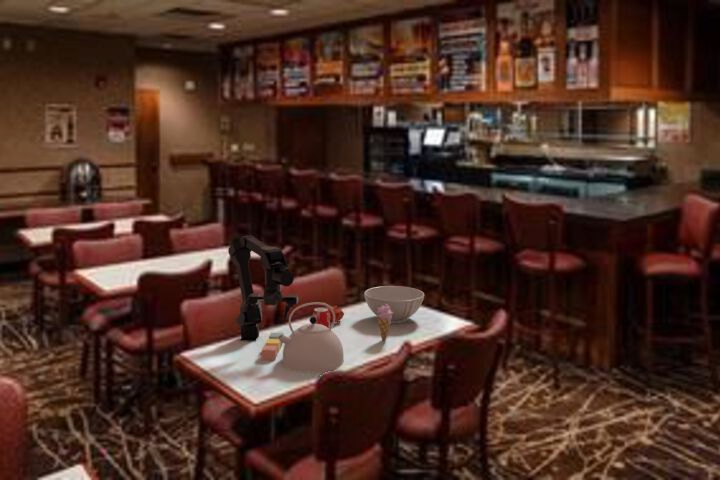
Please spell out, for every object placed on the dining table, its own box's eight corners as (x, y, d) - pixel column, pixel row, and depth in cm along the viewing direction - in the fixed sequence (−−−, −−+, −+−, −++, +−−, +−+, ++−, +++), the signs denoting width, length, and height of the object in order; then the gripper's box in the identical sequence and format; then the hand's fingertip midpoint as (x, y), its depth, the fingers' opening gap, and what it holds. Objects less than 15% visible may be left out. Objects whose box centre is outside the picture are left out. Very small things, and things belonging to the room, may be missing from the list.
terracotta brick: (261, 360, 252) (261, 350, 251) (264, 355, 257) (264, 345, 256) (275, 360, 252) (275, 350, 251) (277, 356, 257) (277, 345, 256)
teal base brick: (269, 346, 268) (269, 336, 267) (271, 342, 272) (271, 332, 272) (281, 346, 267) (281, 336, 267) (283, 342, 272) (283, 332, 272)
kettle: (287, 377, 236) (286, 314, 232) (268, 356, 256) (268, 298, 252) (353, 367, 245) (353, 307, 241) (330, 348, 266) (330, 292, 262)
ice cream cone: (395, 339, 277) (395, 303, 274) (389, 343, 271) (389, 307, 268) (380, 337, 279) (380, 301, 277) (374, 341, 274) (374, 305, 271)
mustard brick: (265, 353, 260) (265, 343, 259) (267, 348, 265) (267, 338, 264) (278, 353, 259) (278, 343, 259) (280, 349, 264) (280, 339, 264)
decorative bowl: (426, 328, 291) (426, 301, 289) (363, 328, 292) (363, 300, 289) (421, 311, 318) (421, 286, 316) (364, 310, 318) (364, 285, 316)
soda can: (327, 340, 274) (327, 312, 272) (310, 339, 275) (310, 311, 273) (331, 335, 281) (331, 307, 279) (315, 334, 282) (315, 306, 280)
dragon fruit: (318, 328, 296) (341, 327, 302) (327, 320, 290) (350, 320, 296) (314, 309, 299) (337, 310, 306) (323, 302, 293) (347, 302, 300)
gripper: (244, 286, 250) (244, 326, 252) (294, 286, 249) (294, 327, 252) (249, 279, 261) (250, 318, 263) (298, 279, 260) (298, 319, 263)
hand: (273, 320), depth 260 cm, fingers open, 9 cm apart
